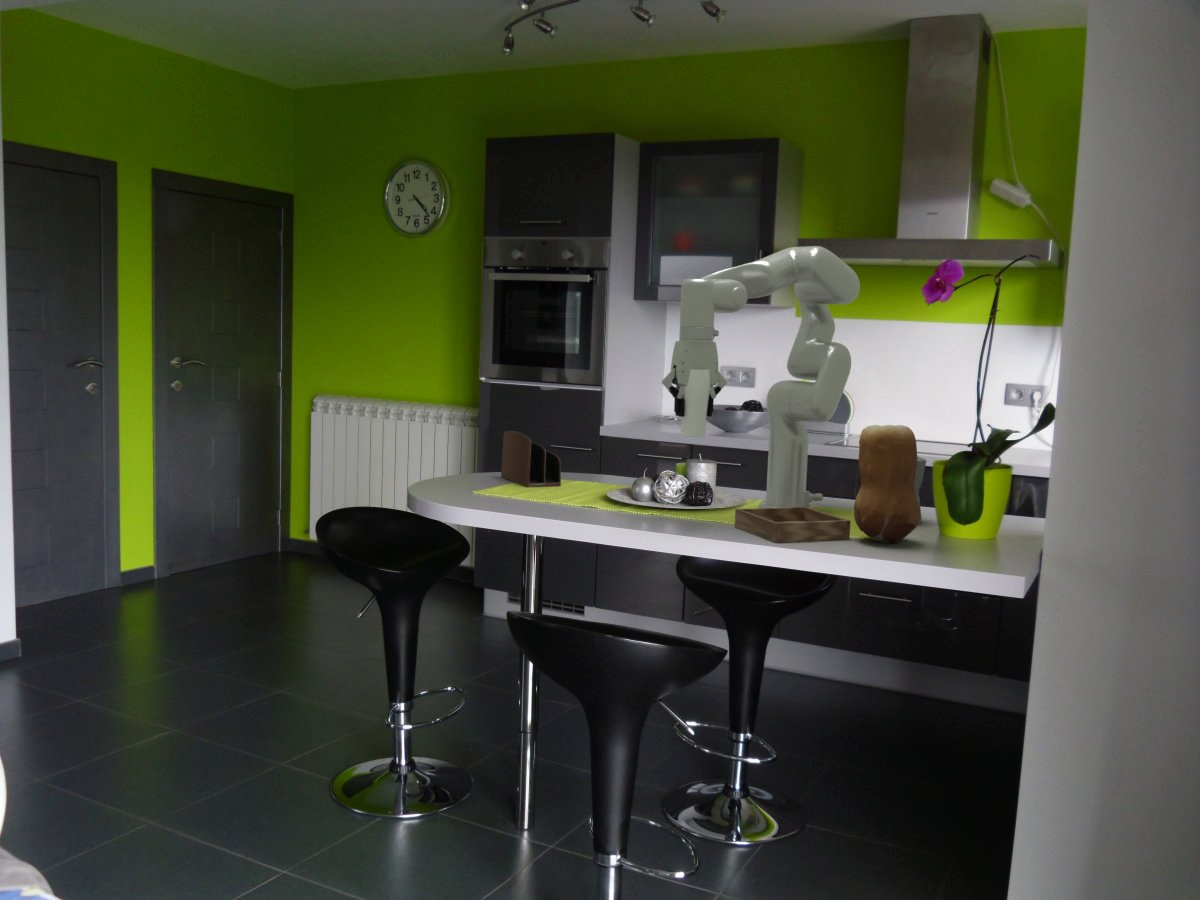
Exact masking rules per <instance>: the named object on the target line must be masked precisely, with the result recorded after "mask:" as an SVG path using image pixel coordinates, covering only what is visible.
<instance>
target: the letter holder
mask: <svg viewBox="0 0 1200 900" xmlns="http://www.w3.org/2000/svg"><path fill="white" fill-rule="evenodd" d="M502 441H503V442H502V453H501V455H502V456H501V469H500V471H501V472H500V477H501V479H506V480H507V481H510V482H513V483H515V484H518V485H521V486H523V487H525V488H548V487H550V488H551V487H561V486H562V485H561V484H562V474H561V473H562V471H561V470H562V468H561V467H562V463H561V460H562V459H561V458H560V457H559V456H558V455H557V454H555V453H553V452H552V451H549V450H547V449H545V447H543V446H542V445H540V444H538V443H536V442H534V441H532V439H531V437H529V436H528V435H526V434H524V433H522V432H521V431H516V430H507V431H506V430H505V431H504V432H503V440H502Z"/></svg>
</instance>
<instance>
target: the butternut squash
mask: <svg viewBox="0 0 1200 900" xmlns="http://www.w3.org/2000/svg"><path fill="white" fill-rule="evenodd" d="M858 444H859V448H858V469H859V474H860V487H859V490H858V493H857V495H856V498H855V500H854V504H853V506H854V507H853V517H854V521H855V523H856V526H857V527H858V529H859V531H861V532H863V533H864V534H865V535H866V536H867V537H868V538H870V539H872V541H876V542H880V543H884V544H892V545H893V544H896V543H899V542H901V541H902V540H903V539H905V538H906V537H907V536H909V535H910V534H911V533H913V531H914V530H916V528H918V526H919V525H918V523H919V519H920V516H921V517H922V513H921V514H920V508H921V505H920V506H919V503H918V500H917V497H916V493H915V477H916V469H917V457H918V447H917V440H916V436H915V434H914V432H913V430H912V429H911V428H910V427H908V426H907V425H903V424H902V425H901V424H895V425H893V424H887V425H886V424H885V425H878V424H873V425H868V426H865V427H864V428H863V429H862V430H861V432H860V437H859V443H858Z"/></svg>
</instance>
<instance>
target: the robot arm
mask: <svg viewBox="0 0 1200 900" xmlns="http://www.w3.org/2000/svg"><path fill="white" fill-rule="evenodd" d="M792 285H793V289H794V294H795V297H796V300H797V303H798V306H799V309H800V315H801V318H800V319H801V321H800V325H799V327H798V332H797V334H796V336H795V339H794V342H793V344H792V347H791V349H790V352H789V355H788V358H787V361H786V369H787V373H789V375H791V376H792V377H793V378H796V379H799V380H790V379H789V380H788V379H787V380H779V381H777V382H775V383H774V384H772V385H771V387H770V388H769V389H768V392H767V396H766V409H767V416H768V423H769V425H768V427H769V434H768V435H769V436H768V455H767V473H766V492H765V493H766V496H765V500H763V501H760V502H759V507H758V508H781V507H808V508H812V505H811V504H810V503H812V502H823V500H824V495H823V493H812V492H810V491H809V490H807V475H808V474H807V472H808V454H809V435H808V430H807V427H806V426H805V423H804V422H809V423H817V424H818V423H826V422H828V421H829V420H830V419H831V418H833V416H834V414H835V412H836V411H837V409H838V405H840V404H839V403H840V402H841V397H842V395H843V393H844V389H845V387H846V385H847V382H848V380H849V376H850V373H851V369H852V357H851V353H850V351H849V349H848V348H847V346H846V345H844V344H842V343H841V342H840V343H839V342H835V341H832V340H833V338H834V335H835V331H836V325H835V324H836V323H835V320H834V318H833V315H832V313H831V311H830V309H829V306H828V305H847V304H850V303H853V302H854V301H855V300H856V299H857V298H858V296H859V294H860V289H861V284H860V279H859V277H858V274H857V273H856V272H855V271H854V269H852V268H851V267H850V266H849V265H848V264H847V263H846V262H844V261H843V260H842V259H841V258H839V257H838V256H837V255H836V254H835V253H833V252H832V251H830V250H828V248H826V247H823V246H819V245H812V246H808V245H807V246H791V247H787V248H784V249H781V250H779V251H776V252H774V253H771V254H770V255H767V256H765V257H763V258H760V259H757V260H754V261H750V262H748V263H747V262H746V263H744V264H741V265H737V266H733V267H729V268H725V269H723V270H719V271H716V272H713V273H710V274H707V275H705V276H703V277H700V278H685V279H684V280H683V281H682V282H681V285H680V310H679V311H680V312H679V336H678V337H679V340H676V341H675V342H674V346H673V351H672V355H671V364H670V372H669V373H667V375H666V376H665V377H664V378H663V379H662V381H661V384H662V385H663V387H665V388H666V389H667V391H668V392H669V393H670V395H672V398H674V400H673V401H674V402H673V403H674V405H673V407H674V408H673V411H674V414H675V416H676V417H680V418H681V417H683V416H684V404H685V400H684V399H683V394H684V392H685V386H687V385H688V380H689V375H690V370H691V369H692V370H710V392H709V400H708V408H707V417H712V416H713V412H714V399H716V397H717V395H718V394H719V393H720V392H721V391H722V389H723V388H724V387H725V386H726V385H727V383H728V381H727V380H726V378H725V377H724V376H723V375H722V374H721V373H720V372H719V355H718V347H717V343H716V341H714V340H715V337H719V335H720V331H719V330H717V329H716V328H715V314H716V313H717V314H734V313H738V312H739V311H741V310H743V308H744V307H746V305H747V302H748V300H749V299H757V298H763V297H767V296H770V295H773V294H774V293H776V292H779V291H782V290H783V289H786V288H788V287H790V286H792ZM802 380H803V381H802ZM805 380H807V381H805ZM813 381H815V382H813ZM674 385H675V386H674Z"/></svg>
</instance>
